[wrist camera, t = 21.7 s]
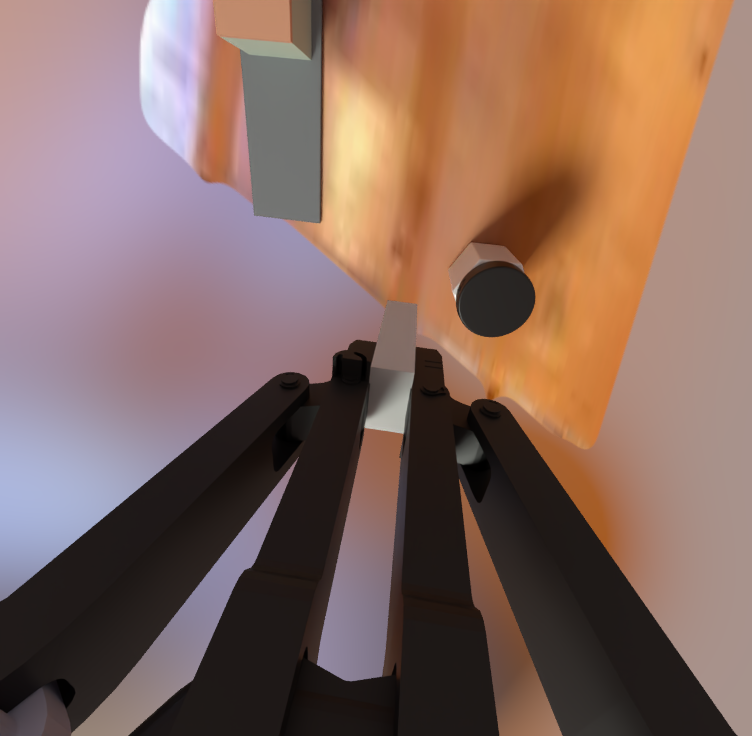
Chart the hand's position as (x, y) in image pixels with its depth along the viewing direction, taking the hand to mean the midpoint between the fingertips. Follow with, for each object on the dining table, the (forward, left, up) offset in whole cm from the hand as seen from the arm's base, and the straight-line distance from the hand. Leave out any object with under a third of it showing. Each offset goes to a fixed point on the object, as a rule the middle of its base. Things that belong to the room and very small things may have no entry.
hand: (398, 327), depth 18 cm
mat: (-13, -17, -32) cm, 39 cm away
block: (-19, -17, -25) cm, 36 cm away
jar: (+5, +10, -33) cm, 34 cm away
